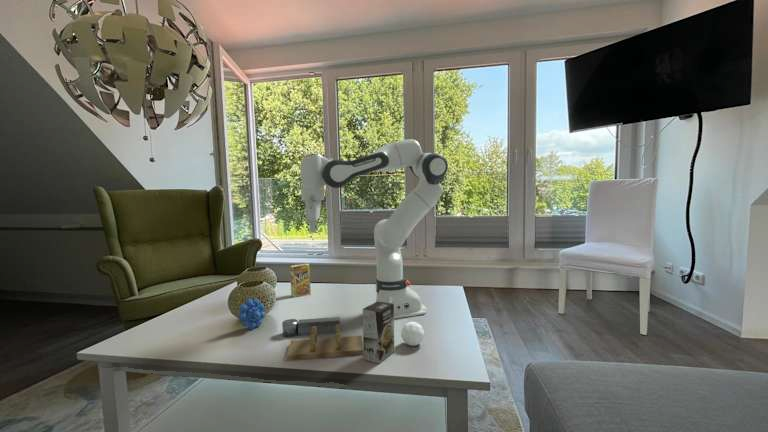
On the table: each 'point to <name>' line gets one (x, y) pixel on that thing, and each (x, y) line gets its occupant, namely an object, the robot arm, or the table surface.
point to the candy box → (300, 280)
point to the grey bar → (309, 326)
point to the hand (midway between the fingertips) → (314, 231)
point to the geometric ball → (412, 333)
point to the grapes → (251, 313)
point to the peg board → (325, 346)
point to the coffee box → (378, 331)
